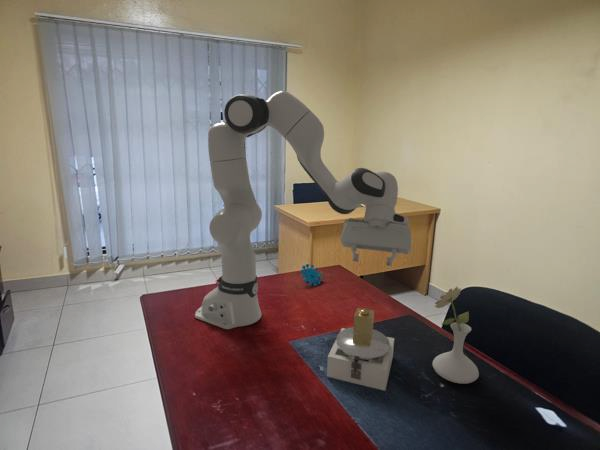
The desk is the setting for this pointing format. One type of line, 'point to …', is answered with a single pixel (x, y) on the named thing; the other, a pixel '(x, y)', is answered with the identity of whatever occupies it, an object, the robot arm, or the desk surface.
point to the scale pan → (362, 346)
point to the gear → (311, 275)
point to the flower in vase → (455, 347)
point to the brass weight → (363, 326)
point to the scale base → (360, 368)
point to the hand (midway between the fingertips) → (371, 262)
